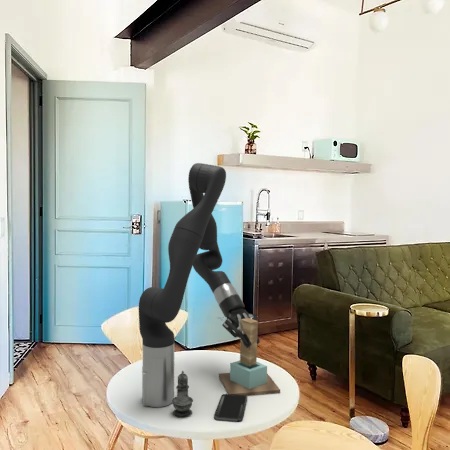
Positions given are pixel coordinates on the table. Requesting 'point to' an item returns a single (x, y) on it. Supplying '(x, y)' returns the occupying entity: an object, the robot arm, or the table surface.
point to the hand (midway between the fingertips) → (253, 344)
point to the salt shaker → (182, 398)
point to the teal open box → (248, 374)
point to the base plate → (238, 389)
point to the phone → (231, 408)
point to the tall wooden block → (251, 330)
